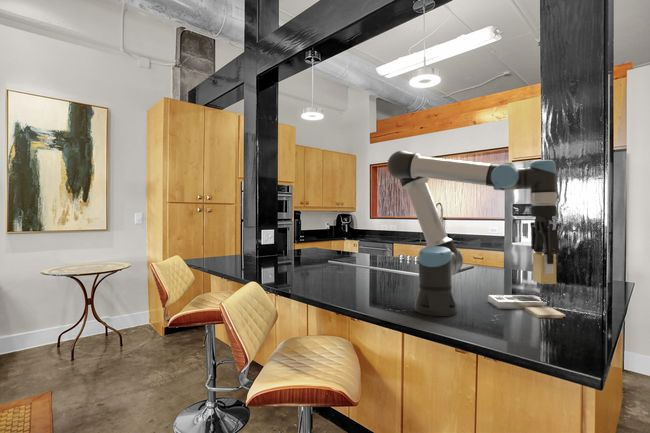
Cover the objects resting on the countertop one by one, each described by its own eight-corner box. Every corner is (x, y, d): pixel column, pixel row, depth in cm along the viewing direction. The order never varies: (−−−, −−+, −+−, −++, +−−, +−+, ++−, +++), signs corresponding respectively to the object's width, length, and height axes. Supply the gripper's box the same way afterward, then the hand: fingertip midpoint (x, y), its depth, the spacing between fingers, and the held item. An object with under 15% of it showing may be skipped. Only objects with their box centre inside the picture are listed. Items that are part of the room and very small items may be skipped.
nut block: (540, 283, 116) (540, 254, 116) (533, 280, 121) (533, 252, 121) (556, 283, 116) (556, 254, 115) (548, 280, 120) (547, 252, 120)
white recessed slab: (498, 309, 126) (498, 301, 126) (488, 302, 136) (488, 294, 136) (549, 310, 124) (549, 301, 124) (535, 302, 134) (535, 295, 134)
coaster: (537, 319, 114) (537, 314, 114) (524, 311, 123) (524, 307, 123) (565, 319, 114) (565, 315, 114) (550, 311, 123) (550, 307, 123)
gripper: (571, 204, 109) (572, 276, 109) (540, 205, 127) (541, 267, 127) (546, 204, 109) (547, 276, 110) (519, 205, 127) (520, 267, 128)
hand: (544, 271), depth 118 cm, fingers closed on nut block, 5 cm apart
